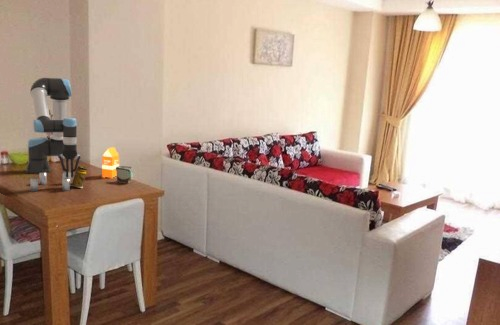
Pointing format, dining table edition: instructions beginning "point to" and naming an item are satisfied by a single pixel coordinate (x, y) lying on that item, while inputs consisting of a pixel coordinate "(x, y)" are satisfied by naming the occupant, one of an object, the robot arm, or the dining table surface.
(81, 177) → the condiment
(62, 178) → the cylinder
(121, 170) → the retro television
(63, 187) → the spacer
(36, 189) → the cylinder
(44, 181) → the cylinder
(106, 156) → the orange juice
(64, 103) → the robot arm
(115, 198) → the dining table surface
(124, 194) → the dining table surface
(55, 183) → the dining table surface
